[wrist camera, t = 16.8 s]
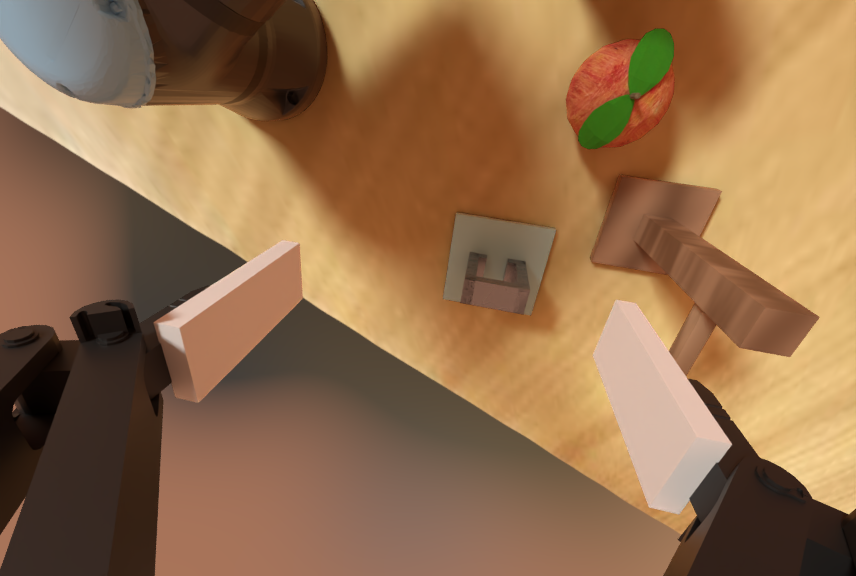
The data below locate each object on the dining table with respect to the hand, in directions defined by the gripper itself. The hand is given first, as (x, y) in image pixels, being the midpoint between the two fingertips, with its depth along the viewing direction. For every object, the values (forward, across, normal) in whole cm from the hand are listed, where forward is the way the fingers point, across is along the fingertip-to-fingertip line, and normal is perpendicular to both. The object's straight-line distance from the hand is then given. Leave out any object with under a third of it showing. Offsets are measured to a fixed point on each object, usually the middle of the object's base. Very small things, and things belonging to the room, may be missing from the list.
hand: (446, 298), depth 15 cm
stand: (+31, +20, -7) cm, 37 cm away
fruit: (+31, +11, +9) cm, 34 cm away
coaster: (+31, +4, -11) cm, 33 cm away
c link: (+30, +4, -11) cm, 32 cm away
